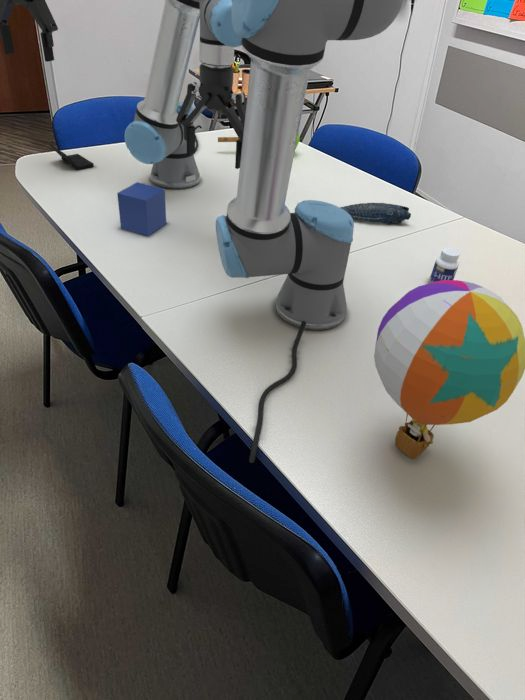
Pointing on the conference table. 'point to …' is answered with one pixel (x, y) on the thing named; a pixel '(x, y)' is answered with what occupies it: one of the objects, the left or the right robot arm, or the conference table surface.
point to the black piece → (74, 160)
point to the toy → (448, 357)
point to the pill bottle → (445, 265)
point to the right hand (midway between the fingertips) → (214, 160)
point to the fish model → (378, 212)
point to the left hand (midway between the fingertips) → (29, 57)
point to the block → (142, 208)
